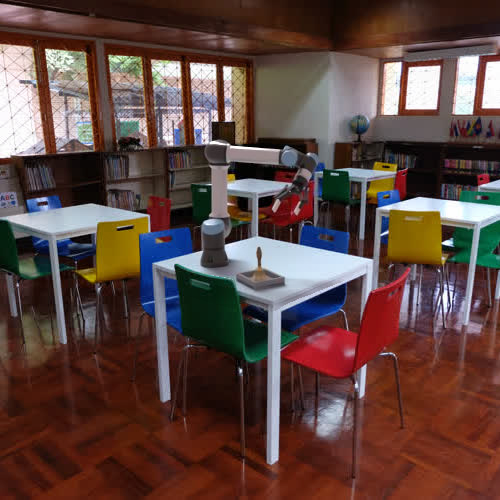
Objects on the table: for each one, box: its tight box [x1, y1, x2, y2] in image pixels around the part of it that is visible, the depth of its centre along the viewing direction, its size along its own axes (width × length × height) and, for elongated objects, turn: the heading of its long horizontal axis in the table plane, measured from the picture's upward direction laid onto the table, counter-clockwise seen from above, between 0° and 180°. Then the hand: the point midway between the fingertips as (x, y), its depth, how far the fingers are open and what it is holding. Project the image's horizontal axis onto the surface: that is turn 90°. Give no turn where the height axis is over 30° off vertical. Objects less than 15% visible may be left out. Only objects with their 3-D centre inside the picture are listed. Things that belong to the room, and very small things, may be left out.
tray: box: [235, 267, 286, 291], centre depth 235 cm, size 18×16×4 cm
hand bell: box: [251, 246, 268, 282], centre depth 233 cm, size 8×8×16 cm
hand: (284, 212), depth 249 cm, fingers open, 13 cm apart
